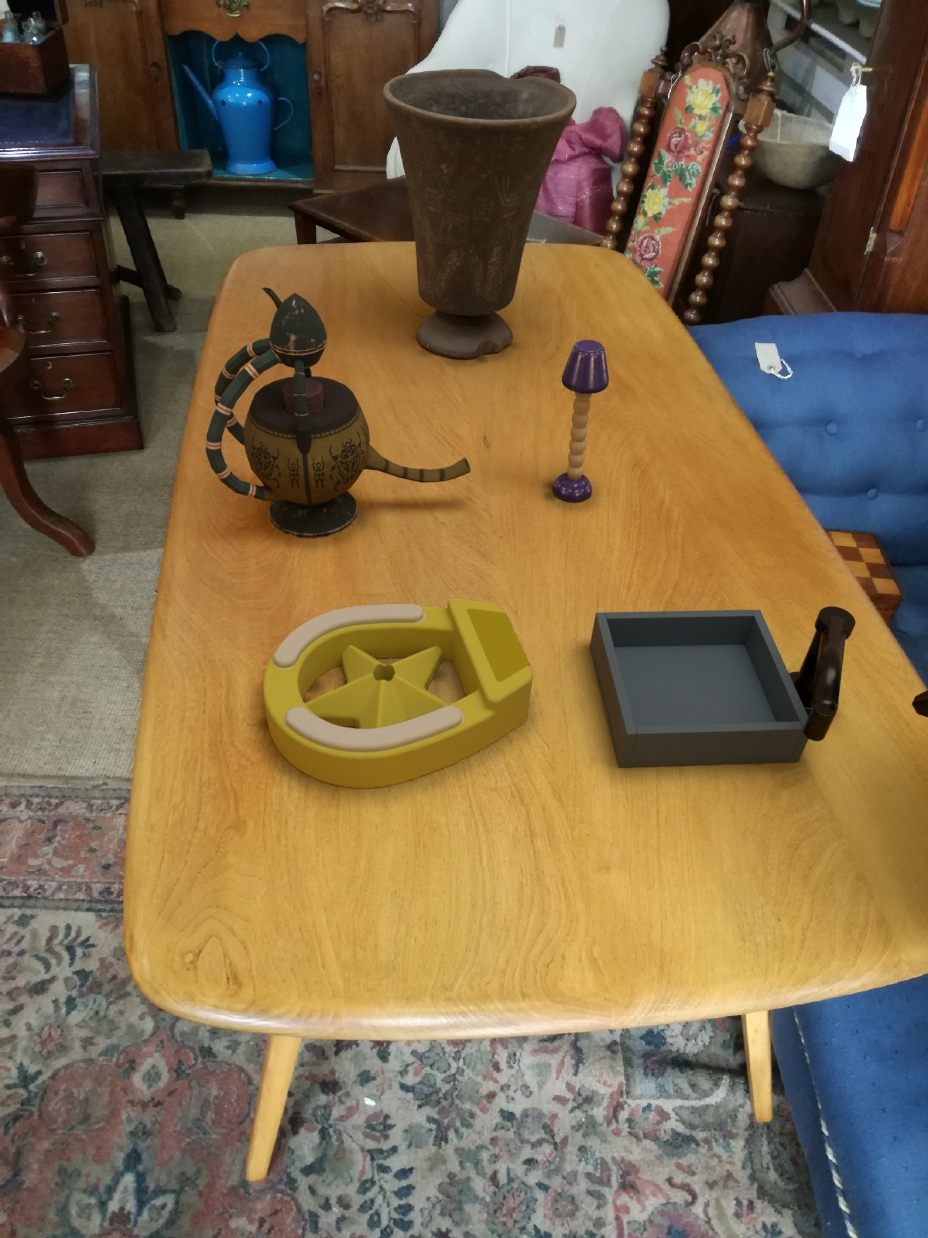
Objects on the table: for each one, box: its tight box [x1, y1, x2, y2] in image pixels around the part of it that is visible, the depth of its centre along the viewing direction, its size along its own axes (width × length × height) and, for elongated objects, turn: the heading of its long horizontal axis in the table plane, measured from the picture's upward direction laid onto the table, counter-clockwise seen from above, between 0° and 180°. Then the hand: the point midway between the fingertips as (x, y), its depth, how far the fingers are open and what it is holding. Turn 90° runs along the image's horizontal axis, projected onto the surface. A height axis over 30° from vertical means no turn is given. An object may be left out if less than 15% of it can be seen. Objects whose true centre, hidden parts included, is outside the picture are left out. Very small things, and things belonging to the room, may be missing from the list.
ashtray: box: [262, 597, 534, 789], centre depth 76 cm, size 16×21×5 cm
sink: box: [589, 609, 810, 768], centre depth 77 cm, size 15×14×4 cm
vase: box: [382, 68, 577, 359], centre depth 115 cm, size 22×22×30 cm
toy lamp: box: [552, 339, 610, 503], centre depth 95 cm, size 5×5×17 cm
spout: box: [803, 605, 856, 742], centre depth 71 cm, size 12×3×3 cm, turn 159°
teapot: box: [205, 287, 472, 540], centre depth 88 cm, size 12×25×23 cm, turn 96°
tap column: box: [788, 630, 821, 716], centre depth 77 cm, size 4×4×8 cm
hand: (915, 705), depth 66 cm, fingers closed
